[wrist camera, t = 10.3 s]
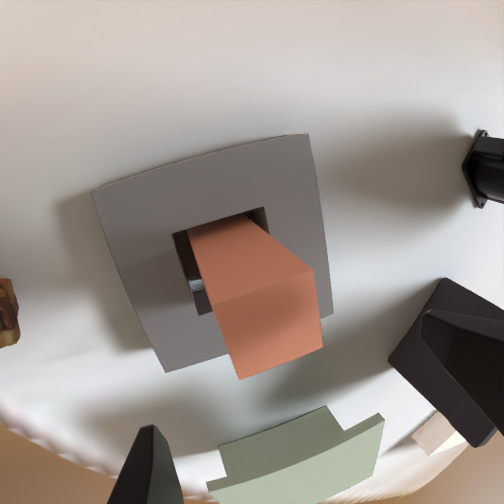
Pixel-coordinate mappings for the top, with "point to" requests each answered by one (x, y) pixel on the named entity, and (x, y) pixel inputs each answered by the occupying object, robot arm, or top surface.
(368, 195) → the top surface
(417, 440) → the white slab
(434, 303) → the black flat block
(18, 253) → the top surface
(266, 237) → the peg
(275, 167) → the socket block
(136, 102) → the top surface
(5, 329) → the wooden carving
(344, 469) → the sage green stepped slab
